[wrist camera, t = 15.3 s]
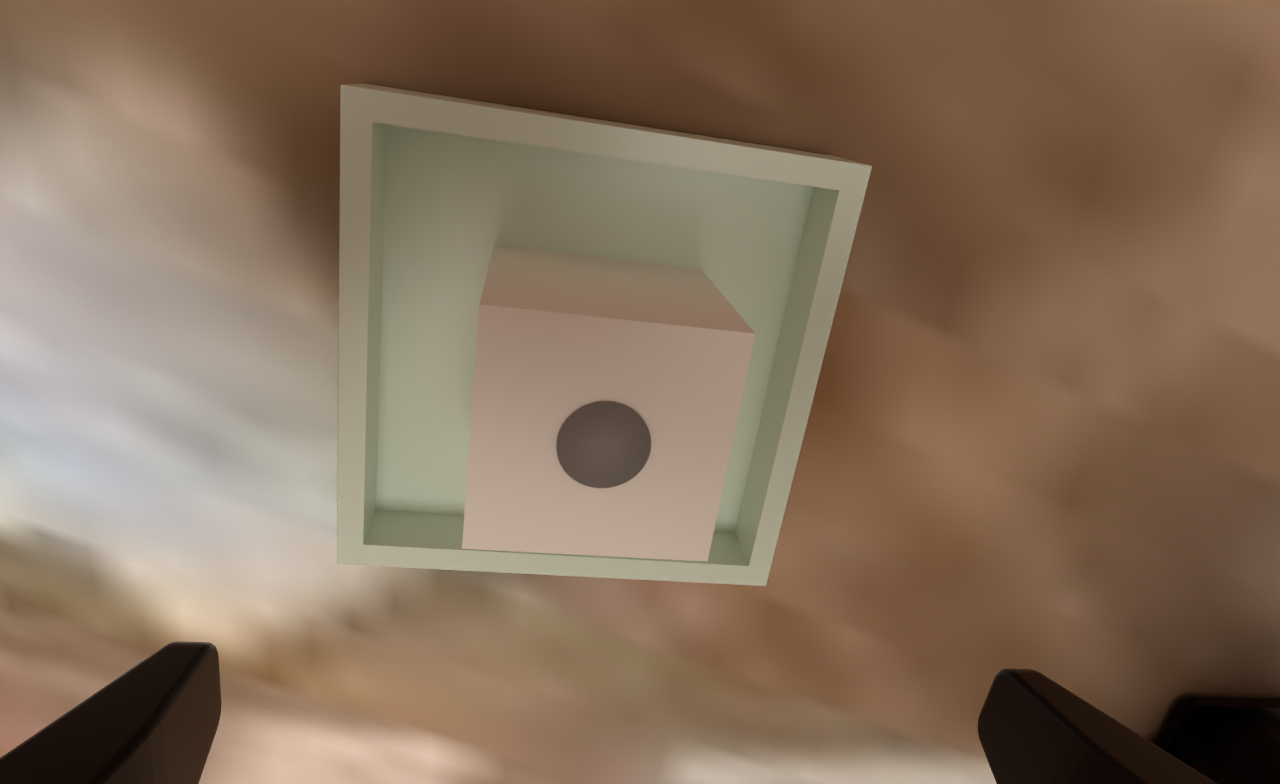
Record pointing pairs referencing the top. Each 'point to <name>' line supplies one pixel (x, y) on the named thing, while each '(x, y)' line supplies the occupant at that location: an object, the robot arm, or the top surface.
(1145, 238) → the top surface
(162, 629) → the top surface
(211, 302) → the top surface
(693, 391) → the cream block
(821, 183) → the tray
